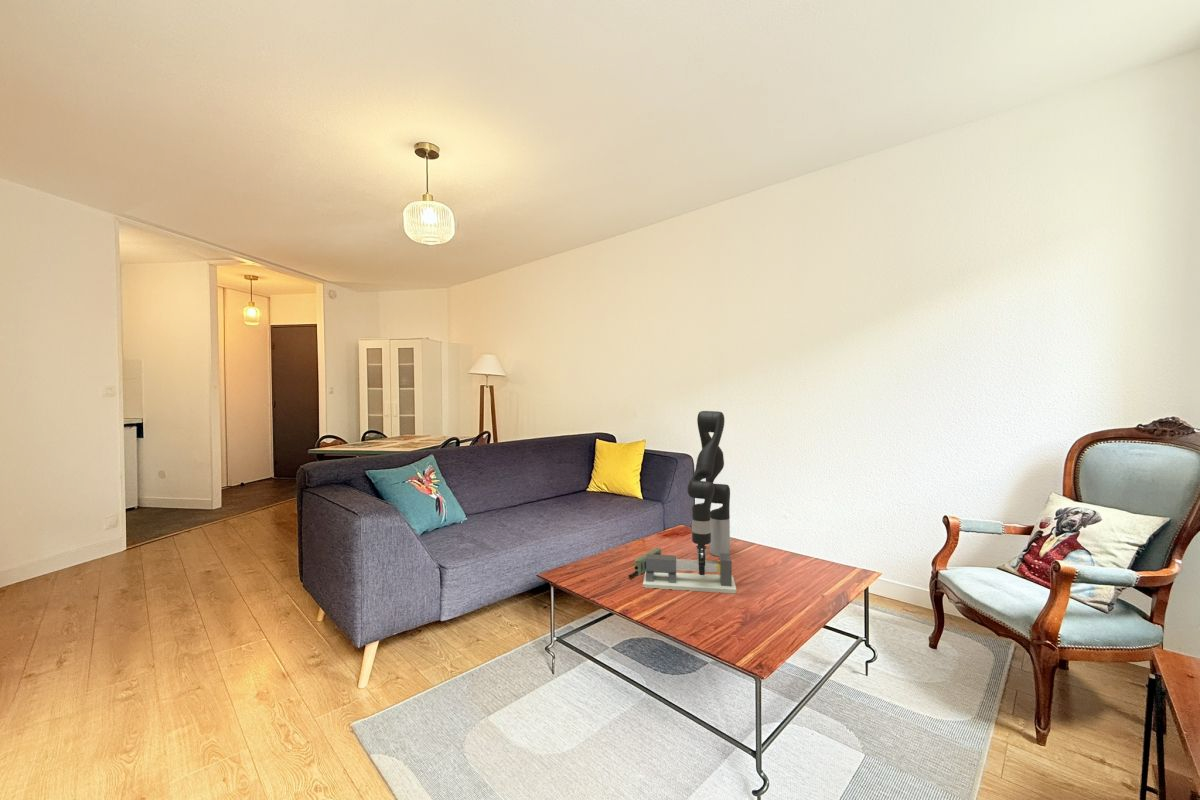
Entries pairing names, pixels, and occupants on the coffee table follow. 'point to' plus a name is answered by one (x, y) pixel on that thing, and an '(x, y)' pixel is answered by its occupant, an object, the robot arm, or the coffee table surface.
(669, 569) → the sleeve
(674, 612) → the coffee table surface
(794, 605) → the coffee table surface
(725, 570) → the socket
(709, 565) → the silver metal bar
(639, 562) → the handheld radio
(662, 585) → the base board
